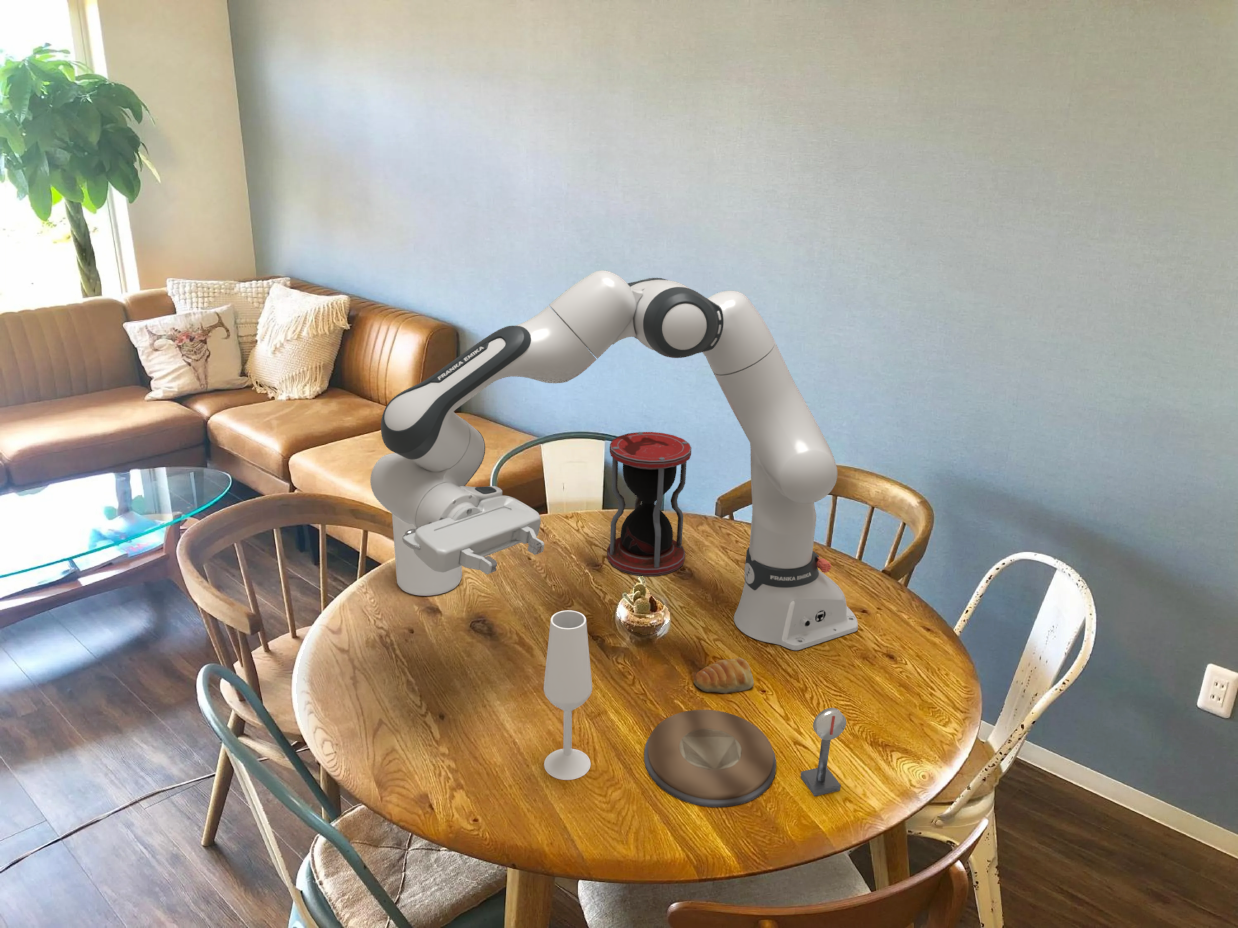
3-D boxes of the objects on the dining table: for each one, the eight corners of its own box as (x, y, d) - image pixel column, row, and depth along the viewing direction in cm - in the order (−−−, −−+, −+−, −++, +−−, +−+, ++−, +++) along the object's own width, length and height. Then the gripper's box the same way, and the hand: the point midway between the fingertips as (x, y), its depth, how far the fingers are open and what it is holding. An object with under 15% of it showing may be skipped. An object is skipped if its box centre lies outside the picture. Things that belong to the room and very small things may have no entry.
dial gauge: (826, 771, 132) (836, 697, 127) (841, 790, 128) (852, 715, 124) (799, 777, 131) (808, 703, 126) (813, 796, 127) (823, 721, 122)
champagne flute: (535, 771, 130) (534, 625, 121) (557, 742, 136) (557, 602, 127) (578, 785, 128) (579, 638, 119) (598, 756, 134) (601, 613, 124)
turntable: (741, 708, 145) (742, 698, 144) (799, 790, 128) (801, 779, 127) (626, 730, 139) (627, 719, 138) (672, 819, 122) (673, 807, 122)
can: (412, 562, 186) (406, 471, 178) (471, 570, 184) (468, 478, 176) (385, 592, 175) (378, 496, 167) (448, 601, 172) (443, 504, 165)
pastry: (703, 701, 147) (705, 681, 145) (687, 677, 153) (688, 657, 151) (756, 690, 150) (758, 670, 148) (738, 667, 156) (739, 648, 154)
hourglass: (670, 536, 200) (676, 428, 190) (695, 572, 185) (703, 457, 176) (598, 544, 196) (600, 433, 186) (618, 580, 181) (622, 463, 172)
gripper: (397, 516, 127) (464, 560, 120) (503, 483, 143) (568, 520, 135) (393, 555, 130) (458, 601, 123) (498, 518, 145) (561, 557, 138)
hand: (517, 558), depth 129 cm, fingers open, 8 cm apart
